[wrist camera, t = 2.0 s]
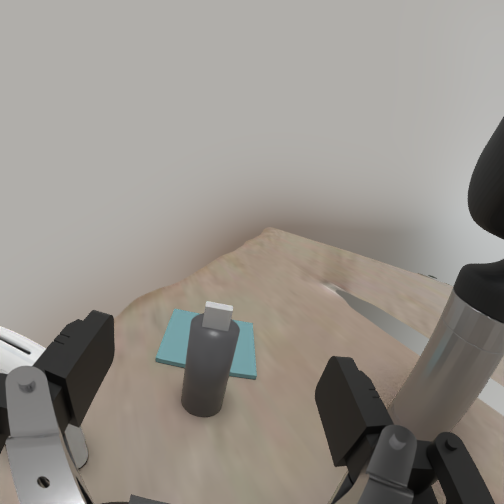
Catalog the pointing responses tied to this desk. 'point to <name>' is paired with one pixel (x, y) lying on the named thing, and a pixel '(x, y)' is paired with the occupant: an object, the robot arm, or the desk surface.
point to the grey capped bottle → (209, 359)
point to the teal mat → (178, 336)
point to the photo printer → (26, 354)
